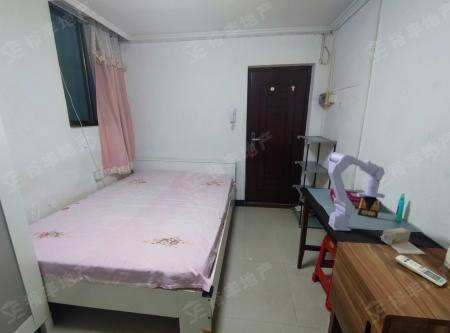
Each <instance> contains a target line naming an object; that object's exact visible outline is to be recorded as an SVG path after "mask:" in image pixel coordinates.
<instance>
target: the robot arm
mask: <svg viewBox="0 0 450 333" xmlns="http://www.w3.org/2000/svg"><path fill="white" fill-rule="evenodd" d="M327 162H328V171H327V172H328V177H329V179H330V182H331V185H332V189H334V193H335V196H336V198H335V199H334V203H333V207H334V209H335V210H334V211H333V212H331V213H330V214H329V221H328V225H329V226H330V227H331V228H332V229H333V230H334V231H349V232H350V231H351V232H352V229H351V228H350V227H349V224H350V218H351V216H353V214H354V213H355V210H356V209H355V207H354V206H353V205H352V202H351V201H350V200H349V199H348V198H347V194H346V191H347V190H346V188H345V183H344V181H343V178H342V173H344V172H345V171H346V170H347V169H348V167H350V166H351V165H354V166H357V167H358V169H359V170H360V171H362V172H365V173H366V174H367V176H368V177H367V181H366V186H365V187H366V188H365V191H363V192H362V191H360V192H361V193H357V196H358V197H363V198H364V200H365V205H366V208H367V209H371V207H372V205H373V204H374V203H375V202H376V201H377V199H378V198H382V199H385V196H386V194H385V193H379V188H380V183H381V182H380V181H381V180H382V179H383V176H384V175H385V174H386V171H385V169H384V167H383V166H379V165H377V164H376V163H372V162H371V160H368V159H367V160H361V159H359V158H357V157H355V156H352V155H349V154H345V153H341V152H340V153H339V152H336V151H334V152H332V153H330V155H329V157H328V158H327Z"/></svg>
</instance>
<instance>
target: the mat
mask: <svg viewBox="0 0 450 333" xmlns="http://www.w3.org/2000/svg"><path fill="white" fill-rule="evenodd" d="M380 238H382V235H380ZM389 246H390V247H391V248H393V249H394V250H395V251H396V250H397V251H396V252H397V253H398V254H401V255H419V254H425V255H426V253H425V252H424V251H423V250H421V249H419V248H418V247H417V246H415V245H414V244H413V243H412V242H410V241H408V242H407V243H399V244H391V245H389Z"/></svg>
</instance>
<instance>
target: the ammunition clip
mask: <svg viewBox="0 0 450 333" xmlns="http://www.w3.org/2000/svg"><path fill="white" fill-rule="evenodd" d="M380 202H381V201H380V199H378V202H377V205H376V202H375V203H374V204H373V207H371V209H367V208H366V205H365V200H364V203H363V198H362V199H361V202H360V206H359V209H357V210H358V211H357V215H358V216H361V217H367V218H372V219H378V217H379V212H378V210H380V209H379V208H380V205H379V203H380ZM362 206H363V207H362ZM375 208H376V209H375Z"/></svg>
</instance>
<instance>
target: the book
mask: <svg viewBox="0 0 450 333" xmlns="http://www.w3.org/2000/svg"><path fill="white" fill-rule="evenodd" d="M345 191H346V194H347V198H348V199H349V200H350V201H351V202H352V205H353V206H354V207H355V210H359V206H360V202H361V199H362V198H363V197H358V196H357V193H361V192H362V191H354V190H345ZM330 197H331V198H330ZM329 198H330V199H331V201H332V200H333V201H332V203H333V202H334V199H335V198H336V196H335V193H334V189H333V188H331V189H330V191H329ZM378 200H379V198H377V201H376V205H377V202H378ZM363 203H364V198H363ZM379 206H382V201H380V203H379ZM362 207H363V206H362ZM372 207H373V205H372ZM375 209H376V208H375ZM380 211H381V210H380V209H379V210H378V213H379V212H380Z"/></svg>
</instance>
